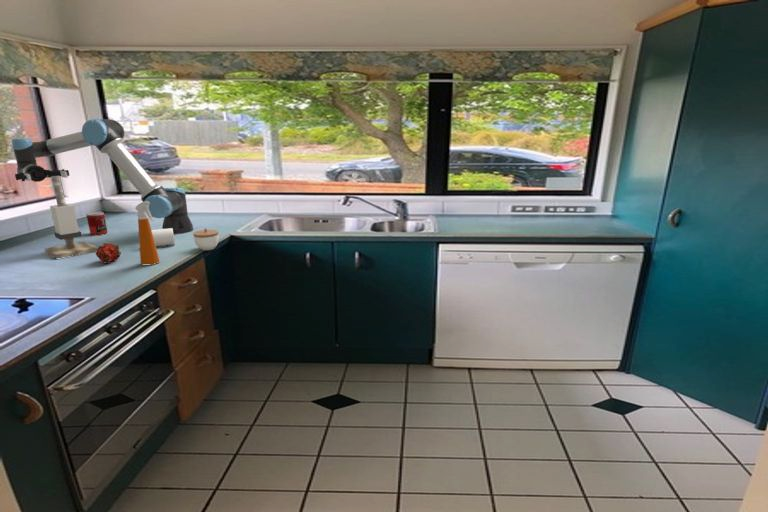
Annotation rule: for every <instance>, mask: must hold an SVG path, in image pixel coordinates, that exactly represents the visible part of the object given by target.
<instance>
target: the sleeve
mask: <svg viewBox="0 0 768 512" xmlns="http://www.w3.org/2000/svg"><path fill="white" fill-rule="evenodd" d="M49 207H50V212H51V213H50V214H51V217H52V221H53V226H54V231H55V232H56V233H58V234H60V235H64V234H70V233H76V232H79V231H80V229H79V224H78V220H77V215H76V209H75V205H73V204H71V203H66V206H61V207H58V205H57V204H56V205H55V204H54V205H50V206H49Z"/></svg>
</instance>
